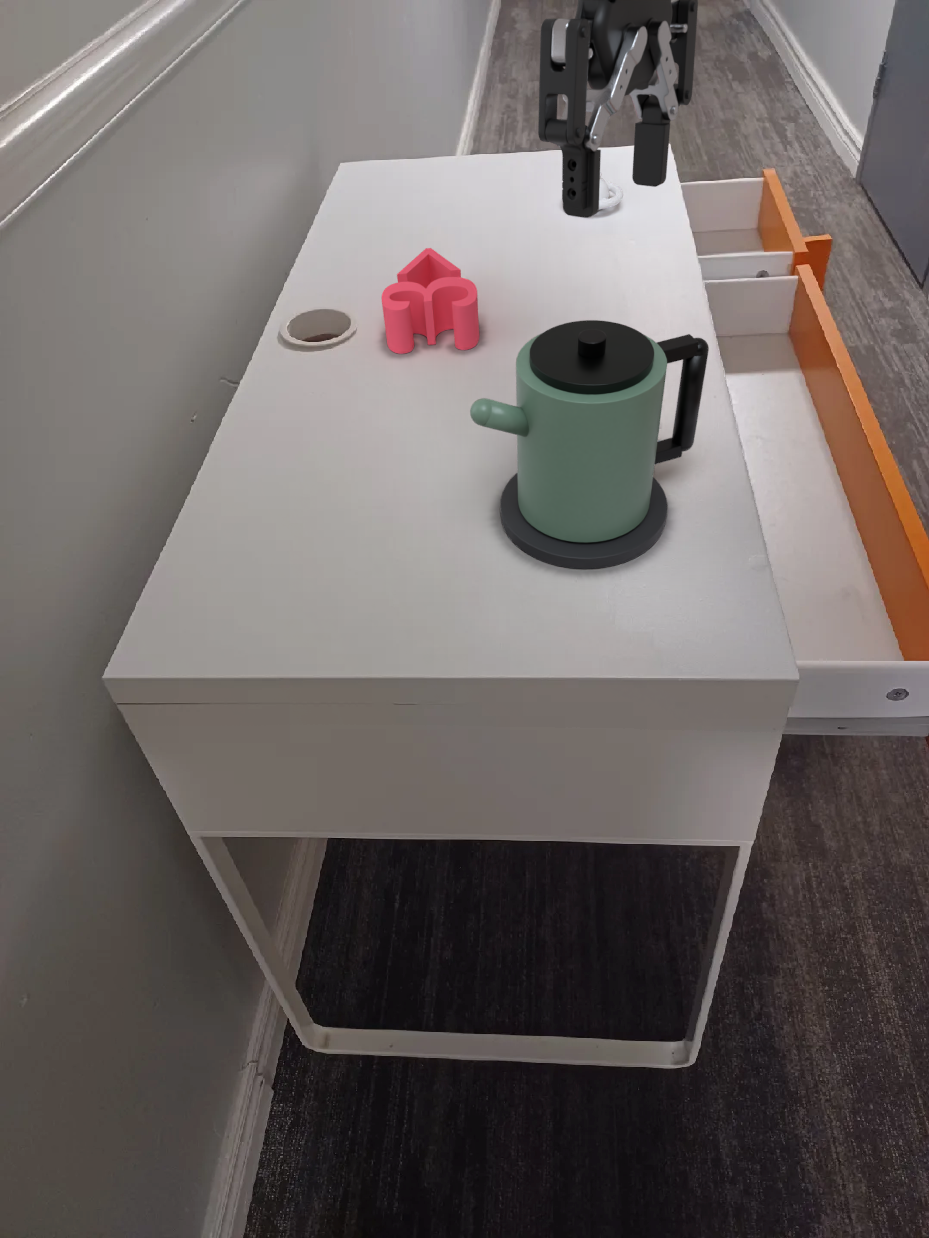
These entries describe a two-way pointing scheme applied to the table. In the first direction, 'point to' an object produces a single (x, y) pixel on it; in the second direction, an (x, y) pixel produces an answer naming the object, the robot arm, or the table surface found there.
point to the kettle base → (582, 552)
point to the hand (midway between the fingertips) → (616, 199)
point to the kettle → (594, 424)
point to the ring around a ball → (604, 194)
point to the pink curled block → (430, 304)
